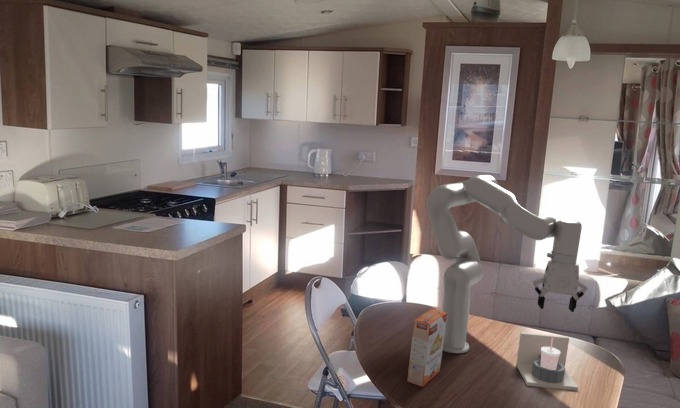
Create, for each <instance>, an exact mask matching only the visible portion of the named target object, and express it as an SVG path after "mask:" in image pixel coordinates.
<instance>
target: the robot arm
mask: <svg viewBox="0 0 680 408" xmlns="http://www.w3.org/2000/svg"><path fill="white" fill-rule="evenodd" d="M475 202H476V203H477V204H480V205H481V206H483V207H485V208H486V209H488V210H490V211H492V212H493V213H495V214H497V215H498V216H499V217H500V218H502V220H503V221H504V222H505V223H506V224H507V225H508V226H509V227H511V228H512V229H514V230H515V231H516V232H517V233H520V234H521V235H523V236H525V237H527V238H529V239H530V240H533V241H543V240H545V239H549V238H553V245H552V250H551V251H550V252H547V254H546V256H547V258H550V259H548V261H547V264H546V267H545V270H544V274H543V277H540V278H537V279H534V280H532V281H531V284H532V287H533V289H534V290H535V292H536V293H537V294H538V297H537V305H538V307H539V308H540V309H541V310H543V309H544V308H545V307H544V306H545V300H546V297H545V295H547V294H548V293H549V294H554V295H555V294H556V295H566V296H571V297H570V298H569V305H568V310H569V311H570V312H571V313H574V311H575V309H576V308H577V302H578V301H579V299H580V298H582V297H583V296H584V294H585V293H586V292H587V291H588V290H589V288H588V287H587V286H586V285H585V284H583V283H582V282H580V267H579V264H578V263H577V258H578V253H579V247H580V246H579V245H580V241H581V236H582V227H583V226H582V223H581V222H580V221H578V220H574V219H570V218H561V217H558V216H556V215H553V214H549V213H545V214H541V215H540V214H539V215H536V214H534V213H532V212H530V211H528V210H527V209H525V208H524V207H522V206H521V205H520V204H519V203H518V201H517V198H516V194H514V193H512V192H511V191H509V190H507V189H505V188H503V187H501V186H500V185H499V183H498V180H497V179H496V178H495V177H494V176H493V175H490V174H479V175H475V176H472V177H470V178H468V179H467V180H462V181H459V182H452V183H445V184H441V185H439V186H436V187H435V188H434V189H432V191H431V192H430V193H429V195H428V197H427V199H426V204H425V205H426V207H425V208H426V213H427V216H428V219H429V221H430V224H431V227H432V233H433V235H434V238H435V241H436V245H437V248H438V251H439V253H440V256H441V257H442V259H443V258H444V259H445V260H448V261H453V260H455V262H454V263H452V264H450V265H449V266H448V267H447V268H446V269H445V271H444V274H443V299H442V309H441V311H442V312H445V313H447V319H446V327H445V335H444V342H443V350H442V352H446V353H450V354H464V353H467V352H468V351H470V345H469V343H468V342H467V341H466V340H467V335H468V334H467V332H468V323H469V317H470V316H469V315H470V308H471V307H470V306H471V293H470V287H471V286H473V285H475V284H477V283H478V282H479V281H481V279H482V277H483V275H484V271H483V269H484V268H483V265H482V262H481V258H480V255H479V252H478V248H477V246H476V242H475V240H474V238H473V237H472V236H471V234H470V233H468V232H467V231H465V230H459V229H458V227H457V224H456V220H455V218H454V216H453V215H452V213H451V211H450V209H451V208H454V207H459V206H464V205H467V204H470V203H475ZM540 284H541V285H542V287H541V288H539V285H540ZM579 288H580V290H579Z"/></svg>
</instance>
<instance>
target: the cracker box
mask: <svg viewBox="0 0 680 408" xmlns="http://www.w3.org/2000/svg"><path fill="white" fill-rule="evenodd" d="M446 319H447V313H445V312H442V310H438V309H434V308H431V309H429V310H427V311H426V312H425V313H423V314H421V315H420V316H419V317H417V318H415V319H414V320H413V328H412V336H411V346H410V354H409V355H410V356H409V362H408V363H409V364H408V373H407V380H406V382H407V383H409V384H413V385H415V386H418V387H420V388H424V387H425V386H426V385H427V384H428V383H429V382H431V380H433V379H434V378H435V377H436V376H437V375H439V373H440V372H441V364H442V357H443V351H442V350H443V342H444V335H445V327H446Z"/></svg>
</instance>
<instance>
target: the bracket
mask: <svg viewBox="0 0 680 408" xmlns="http://www.w3.org/2000/svg"><path fill="white" fill-rule="evenodd" d="M552 336H553V343H552V347H553V348H556V349H558V350H559V351H560V352H561V353H560V356H559V359H558V363H557V368H556V370H549V369H546V368H543V367H541V366H540V365H541V347H546V346H547V347H550V346H551V339H552ZM569 343H570V338H569V336H563V335H553V334H543V333H533V332H532V333H531V332H520V336H519V341H518V349H517V356H516V357H517V358H516V364H515V366H516V367H517V369H518V371H519V373H520V375H521V377H522V378H523V380H524V383H525V384H526V386H528V387H537V388H538V387H539V388H547V389H558V390H565V391H567V390H568V391H576V392H577V391H579V386H578V384H577V383H576V382H575V380H574V379H573V378H572V376H571V375H570V373H569V372H568V370H567V369H566V362H567V355H568V350H569V349H568V348H569Z"/></svg>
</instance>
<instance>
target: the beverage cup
mask: <svg viewBox="0 0 680 408" xmlns="http://www.w3.org/2000/svg"><path fill="white" fill-rule="evenodd" d="M552 343H553V336H552V339H551V346H550V347H547V346H546V347H541V365H540V366H541V367H543V368H546V369H549V370H556V368H557V363H558V359H559V356H560V353H561V352H560V351H559V350H558V349H556V348H553V347H552Z"/></svg>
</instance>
